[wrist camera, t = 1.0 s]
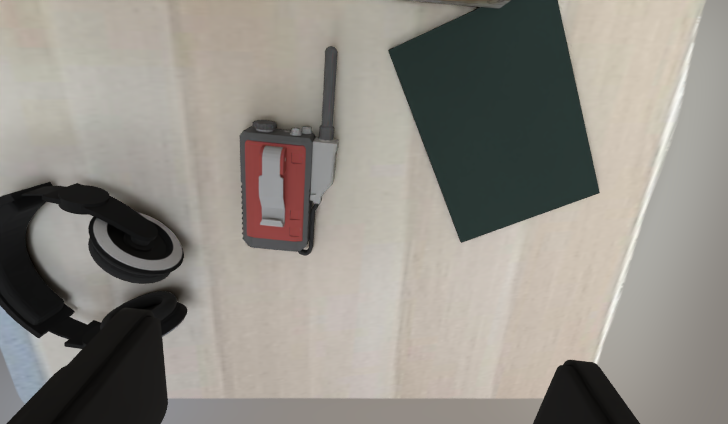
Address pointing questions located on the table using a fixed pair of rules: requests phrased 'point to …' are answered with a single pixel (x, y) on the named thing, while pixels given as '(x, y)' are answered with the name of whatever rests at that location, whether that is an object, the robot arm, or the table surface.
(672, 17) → the table surface
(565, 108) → the mat
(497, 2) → the coffee box
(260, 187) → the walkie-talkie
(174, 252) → the headphones
